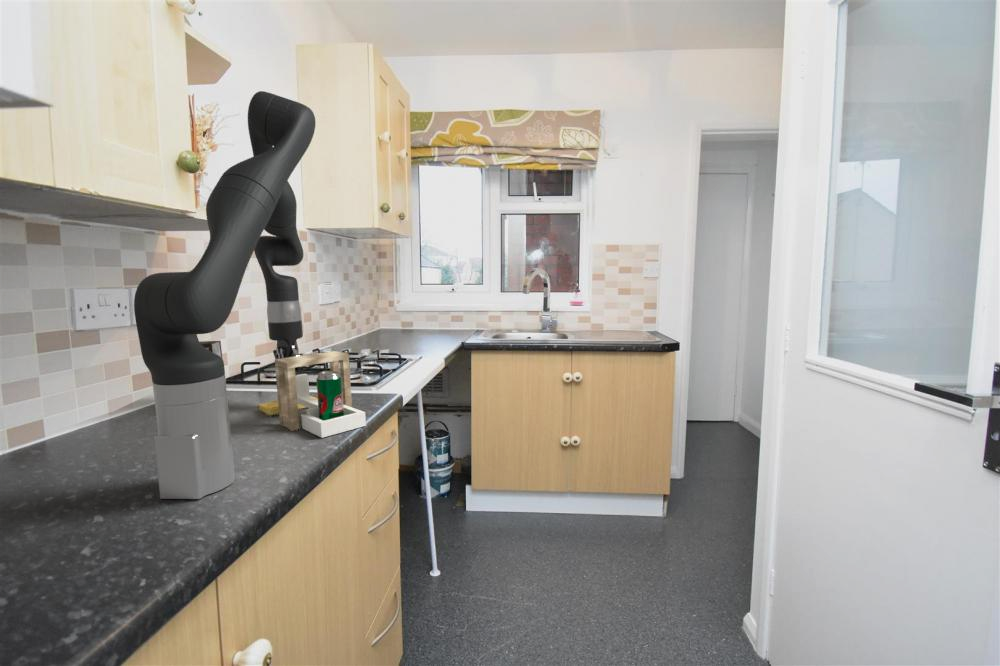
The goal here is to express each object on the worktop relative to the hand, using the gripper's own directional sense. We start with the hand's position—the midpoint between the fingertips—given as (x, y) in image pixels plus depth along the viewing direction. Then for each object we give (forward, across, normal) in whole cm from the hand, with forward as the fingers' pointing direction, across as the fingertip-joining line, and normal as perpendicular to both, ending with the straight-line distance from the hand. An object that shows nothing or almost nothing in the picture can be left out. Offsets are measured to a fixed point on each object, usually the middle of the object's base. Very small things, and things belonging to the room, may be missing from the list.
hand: (290, 388), depth 115 cm
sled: (+5, -17, 0) cm, 17 cm away
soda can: (+5, -22, 0) cm, 23 cm away
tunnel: (+5, -15, 0) cm, 16 cm away
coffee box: (+5, +23, +14) cm, 27 cm away
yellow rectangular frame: (+5, 0, +1) cm, 5 cm away
